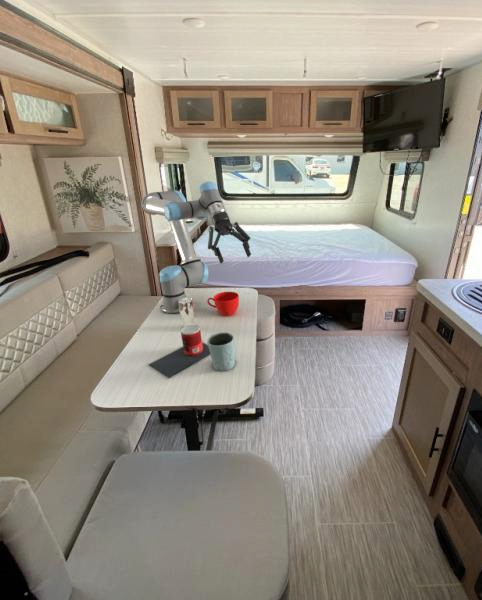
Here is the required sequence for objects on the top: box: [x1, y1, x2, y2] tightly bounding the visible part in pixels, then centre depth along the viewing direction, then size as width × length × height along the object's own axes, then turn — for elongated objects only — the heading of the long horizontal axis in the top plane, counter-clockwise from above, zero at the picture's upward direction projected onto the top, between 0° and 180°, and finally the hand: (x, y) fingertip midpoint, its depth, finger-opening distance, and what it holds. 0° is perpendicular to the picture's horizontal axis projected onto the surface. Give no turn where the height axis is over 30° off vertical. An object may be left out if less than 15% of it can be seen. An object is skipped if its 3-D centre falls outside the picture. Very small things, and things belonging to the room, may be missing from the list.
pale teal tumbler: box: [206, 332, 236, 372], centre depth 126 cm, size 10×10×12 cm
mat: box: [148, 342, 211, 379], centre depth 135 cm, size 24×14×1 cm, turn 140°
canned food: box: [180, 324, 203, 356], centre depth 136 cm, size 8×8×11 cm
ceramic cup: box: [206, 291, 240, 317], centre depth 171 cm, size 13×17×10 cm
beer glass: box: [178, 297, 196, 328], centre depth 156 cm, size 7×7×15 cm
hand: (236, 259), depth 141 cm, fingers open, 13 cm apart
